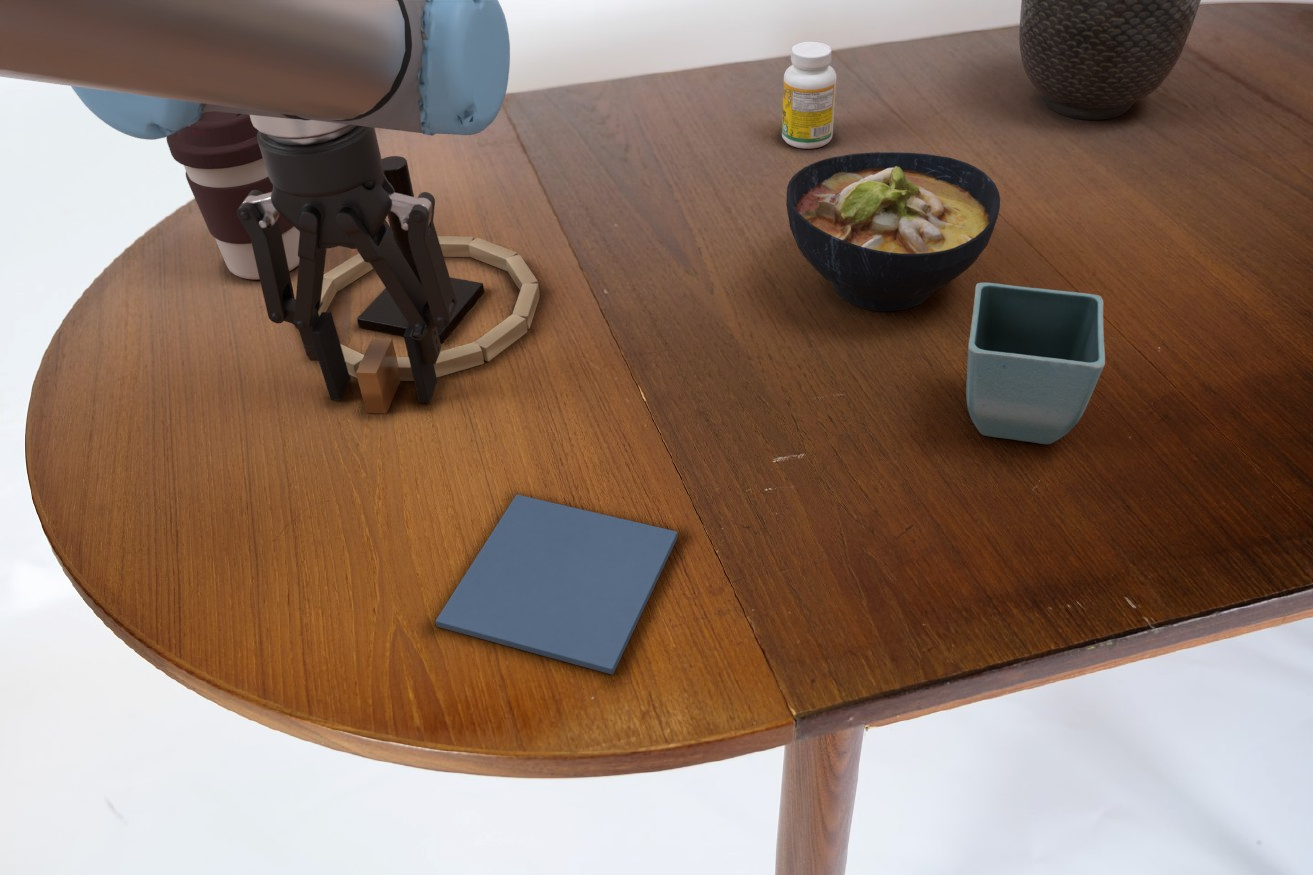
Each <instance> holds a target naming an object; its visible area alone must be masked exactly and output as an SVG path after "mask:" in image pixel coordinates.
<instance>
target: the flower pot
mask: <svg viewBox="0 0 1313 875" xmlns="http://www.w3.org/2000/svg"><path fill="white" fill-rule="evenodd" d="M1104 327H1105V326H1104V300H1103V297H1102V296H1101V295H1098V294H1093V293H1086V292H1075V291H1066V290H1057V289H1048V288H1038V287H1028V286H1020V285H1019V286H1018V285H1011V284H1003V283H995V282H978V283H976V285H975V289H974V300H973V308H972V316H971V325H970V331H969V339H968V345H967V363H966V364H967V366H966V386H965V396H966V397H965V398H966V406H967V411H968V414H969V416H970V419H971V421H972V423H973V425H974V426H975V428H976V430H977V431H978V433H979V434H981V435H982V436H985V437H990V438H991V437H992V438H999V439H1004V440H1006V439H1007V440H1013V441H1020V442H1026V443H1034V444H1041V445H1051V444H1053V443H1055V442H1057V441H1058V440H1061V439H1062V438H1063V437H1064V436H1066V435H1067V434H1068V433H1069V432H1070V431H1072V430H1073V429H1074V428H1075V426H1077V425H1078V423H1079V421H1080V420H1081V418H1082V417H1083V415H1084V414H1085V411H1086V410H1087V407H1088V406H1089V403H1090V400H1091V398H1092V396H1093V393H1094V391H1095V389H1096V386H1097V384H1098V381H1099V379H1100V377H1101V375H1102V372H1103V370H1104V368H1105V366H1106V352H1105V336H1104V332H1105V331H1104V329H1105V328H1104Z"/></svg>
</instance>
